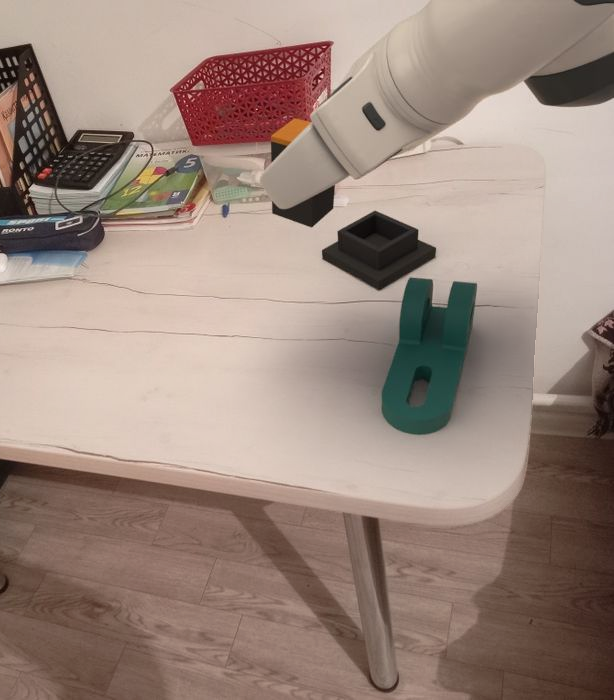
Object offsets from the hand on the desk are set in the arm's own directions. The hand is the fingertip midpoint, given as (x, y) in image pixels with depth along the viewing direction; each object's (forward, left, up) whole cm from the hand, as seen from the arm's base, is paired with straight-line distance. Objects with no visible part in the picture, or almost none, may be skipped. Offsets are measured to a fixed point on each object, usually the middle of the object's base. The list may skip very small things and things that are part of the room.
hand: (298, 169), depth 63 cm
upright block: (0, 0, -5) cm, 5 cm away
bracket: (-13, +5, -23) cm, 27 cm away
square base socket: (-6, -17, -23) cm, 29 cm away
